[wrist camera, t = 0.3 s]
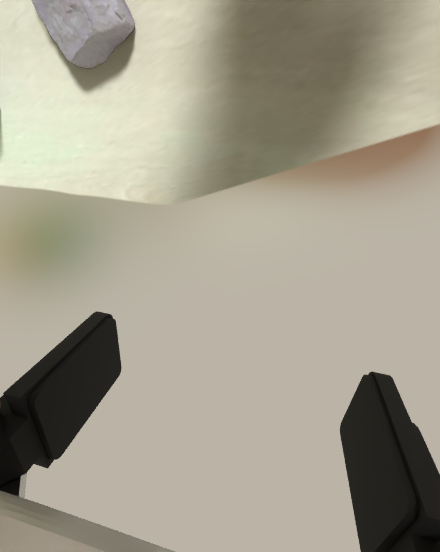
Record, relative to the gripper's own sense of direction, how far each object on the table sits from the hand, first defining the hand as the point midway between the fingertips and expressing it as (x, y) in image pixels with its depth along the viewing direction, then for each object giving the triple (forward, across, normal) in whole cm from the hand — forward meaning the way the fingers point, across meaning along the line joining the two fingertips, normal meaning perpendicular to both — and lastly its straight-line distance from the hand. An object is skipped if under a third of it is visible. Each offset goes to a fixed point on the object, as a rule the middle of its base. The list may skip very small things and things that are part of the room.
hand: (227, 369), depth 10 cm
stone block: (+31, +26, -20) cm, 45 cm away
